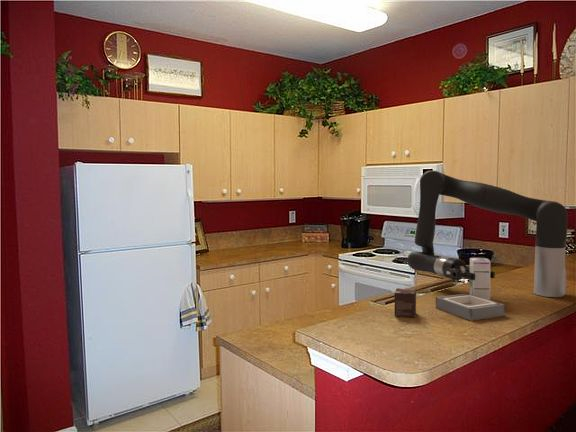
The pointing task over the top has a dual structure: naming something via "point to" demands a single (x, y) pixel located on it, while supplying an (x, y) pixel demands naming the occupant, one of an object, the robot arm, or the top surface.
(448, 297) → the tray
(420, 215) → the robot arm
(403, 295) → the box
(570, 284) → the top surface
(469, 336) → the top surface
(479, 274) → the syrup box
